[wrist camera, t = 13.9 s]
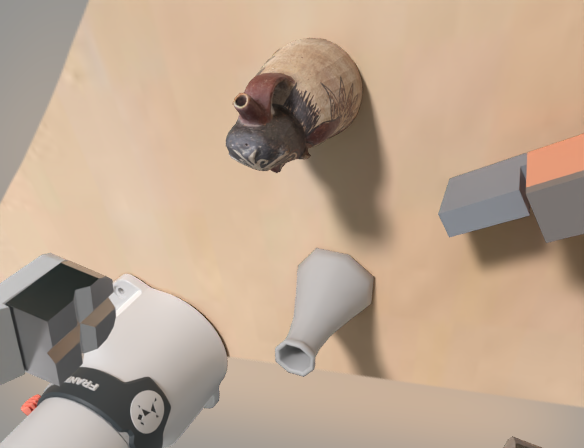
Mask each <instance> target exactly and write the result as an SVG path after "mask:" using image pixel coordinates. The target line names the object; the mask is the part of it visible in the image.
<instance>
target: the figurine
mask: <svg viewBox="0 0 584 448" xmlns="http://www.w3.org/2000/svg"><path fill="white" fill-rule="evenodd" d="M361 99H362V82H361V78H360V74H359V71H358V69H357V67H356V64H355V63H354V61H353V60H352V59H351V57H350V56H349V55H348V54H347V53H346V52H345V51H344V50H343V49H341V48H340V47H339V46H338V45H336V44H334V43H332V42H330V41H327V40H325V39H316V38H306V39H300V40H295V41H292V42H291V43H289V44H287V45H285V46H284V47H282V48H280V49H278V50H277V51H276V52H275V53H274V54H273V55H272V57H271V58H270V59H269V60H268V61H267V62H266V63H265V64H264V66H263V67H262V68H261V70H260V71H259V72H258V73H257V75H256V76H255V77H254V78H253V79H252V80H251V81H250V82H249V84H248V85H247V87H246V89H245V92H244V93H239V94H238V95H237V96H236V97H235V99H234V101H233V105H234V107H235V108H236V110H237V111H238V112H239V114H240V115H239V117H238V120H237V122H236V124H235V125H234V126H233V127H232V129H231V130H230V131H229V133H228V135H227V138H226V146H227V149H228V151H229V155H230V157H231V158H232V159H234V160H236V161H238V162H239V163H241V164H244V165H246V166H248V167H250V168H253V169H256V170H259V171H268V170H271V171H273V172H276V173H278V172H280V171H281V169H282V167H283V166H284V165H285V163H287V162H289V161H292V160H295V159H308V158H309V157H310V156H311V155H310V154H309V153H308V148H310V147H314V146H317V145H319V144H321V143H322V142H324V141H325V140H326V139H328V138H330V137H333V136H335V135H337V134H339V133H340V132H342V131H343V130H344V129H346V128H347V127H348V126H349V125H350V124H351V123H352V122H353V120H354V118H355V117H356V115H357V113H358V110H359V108H360V103H361Z"/></svg>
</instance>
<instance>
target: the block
mask: <svg viewBox="0 0 584 448" xmlns="http://www.w3.org/2000/svg"><path fill="white" fill-rule="evenodd" d="M526 196H527V198H528V200H529V203H530V205H531V208H532V210H533V212H534V215H535V217H536V220H537V222H538V224H539V227H540V229H541V232H542V234H543V236H544V239H545V241H546V243H548V242H552V241H556V240H560V239H564V238H568V237H573V236H577V235H581V234H584V134H581V135H578V136H575V137H572V138H569V139H566V140H563V141H560V142H557V143H554V144H551V145H548V146H545V147H542V148H539V149H536V150H534V151H531V152H528V153H527V174H526Z"/></svg>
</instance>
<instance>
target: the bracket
mask: <svg viewBox="0 0 584 448" xmlns="http://www.w3.org/2000/svg"><path fill="white" fill-rule="evenodd" d="M526 174H527V153H525V154H522V155H519V156H516V157H513V158H510V159H507V160H504V161H501V162H498V163H495V164H492V165H489V166H486V167H483V168H480V169H477V170H474V171H471V172H468V173H465V174H462V175H459V176H456V177H453V178H450V179H449V182H448V185H447V188H446V191H445V194H444V198H443V201H442V204H441V207H440V210H439V213H438V215H439V217H440V219H441V221H442V223H443V225H444V227H445V229H446V231H447V234H448V236H449V237H452V236H456V235H460V234H463V233H467V232H471V231H474V230H478V229H482V228H485V227H489V226H493V225H496V224H500V223H504V222H507V221H511V220H515V219H518V218H522V217H526V216H529V215H530V203H529V200H528V198H527V196H526Z"/></svg>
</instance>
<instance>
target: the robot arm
mask: <svg viewBox="0 0 584 448" xmlns="http://www.w3.org/2000/svg"><path fill="white" fill-rule="evenodd" d="M226 371H227V354H226V351H225V348H224V345H223V343H222V341H221V339H220V337H219V335H218V334H217V332H216V331H215V329H214V328H213V327H212V325H211V324H210V323H209V322H208V321H207V319H206V318H205V317H204V316H203V315H202V314H200V313H199V312H198V311H197V310H196V309H194V308H193V307H192V306H190V305H189V304H188V303H186V302H184V301H183V300H181V299H179V298H177V297H175V296H173V295H171V294H168V293H165V292H162V291H159V290H156V289H154V288H151V287H149V286H148V285H146V284H145V283H144V282H142V281H141V280H139V279H138V278H136V277H134V276H132V275H130V274H124V275H122V276H121V277H119V278H118V279H116V280H115V281H114V282H113V281H112V279H110V278H108V277H106V276H104V275H102V274H100V273H97V272H95V271H93V270H90V269H88V268H86V267H83V266H81V265H79V264H76V263H74V262H72V261H69V260H66V259H64V258H62V257H59V256H57V255H54V254H52V253H48V254H43V255H41V256H39V257H38V258H36V259H35V260H33V261H32V262H30V263H29V264H27V265H26V266H25V267H23V268H22V269H20V270H19V271H17V272H16V273H14V274H13V275H12V276H10V277H9V278H7V279H6V280H4V281H3V282H1V283H0V385H1V384H4V383H6V382H8V381H10V380H13V379H15V378H17V377H19V376H22V375H24V374H25V372H27V373H30V374H32V375H34V376H37V377H39V378H41V379H43V380H46V381H48V382H50V384H49V385H48V386H47V387H46V389H45V390H44V393H43V395H42V396H40V395H35V396H33V397H32V398H30V399H29V400H28V401H26V402H25V403H24V404H23V405H22V408H21V410H22V411H23V412H24V413H25V414H26V415H28V416H27V417H26V418H25V419H24V420H23V421H22V422H21V423H20V424H19V425H18V426H17V427H16V428H15V429H14V430H13V431H12V432H11V433H10V434H9V435H8V436H7V437H6V438H5V439H4V440H3V441H2V442H1V443H0V448H164V447H171V446H172V445H173V444H175V443H176V441H177V440H178V439H179V438H180V436H181V435H182V434H183V433H184V432H185V430H186V429H187V428H188V427H189V425H190V424H191V423H192V421H193V420H194V419H195V418H196V416H197V415H198V414H199V413H200V412H201V410H202V409H203V408H213V407H214V406H215V405H216V403H217V402H218V401H219V385H220V383H221V381H222V380H223V378H224V376H225V374H226ZM503 448H542V447H539V446H536V445H534V444H531V443H528V442H526V441H523V440H520V439H518V438H515V437H511V438H510V439H508V441H507V442H506V444H505V445H504V447H503Z"/></svg>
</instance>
